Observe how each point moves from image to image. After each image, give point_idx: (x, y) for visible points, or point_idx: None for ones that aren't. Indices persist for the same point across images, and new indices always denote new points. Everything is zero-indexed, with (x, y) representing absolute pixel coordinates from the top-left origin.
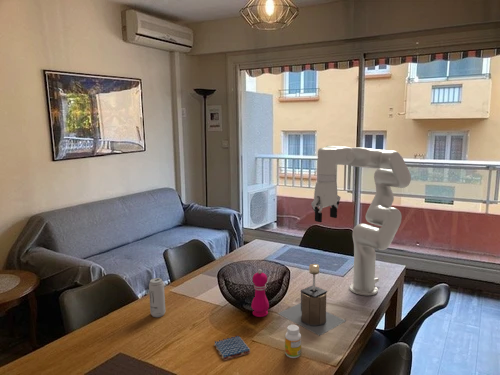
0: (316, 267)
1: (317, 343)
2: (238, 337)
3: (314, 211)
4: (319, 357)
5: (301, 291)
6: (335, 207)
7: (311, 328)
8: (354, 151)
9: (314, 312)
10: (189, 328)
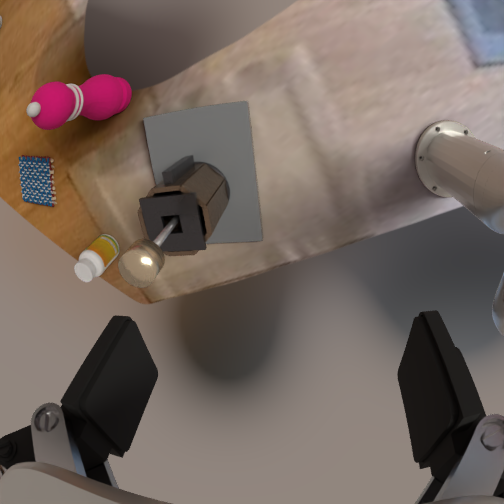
0: (134, 285)
1: None
2: (49, 159)
3: (46, 411)
4: None
5: (140, 201)
6: (435, 473)
7: None
8: None
9: None
10: (9, 88)
